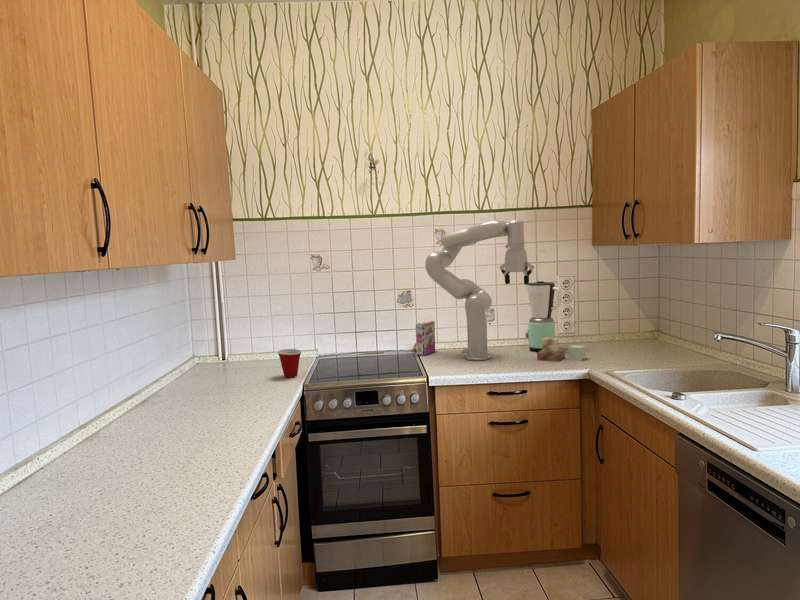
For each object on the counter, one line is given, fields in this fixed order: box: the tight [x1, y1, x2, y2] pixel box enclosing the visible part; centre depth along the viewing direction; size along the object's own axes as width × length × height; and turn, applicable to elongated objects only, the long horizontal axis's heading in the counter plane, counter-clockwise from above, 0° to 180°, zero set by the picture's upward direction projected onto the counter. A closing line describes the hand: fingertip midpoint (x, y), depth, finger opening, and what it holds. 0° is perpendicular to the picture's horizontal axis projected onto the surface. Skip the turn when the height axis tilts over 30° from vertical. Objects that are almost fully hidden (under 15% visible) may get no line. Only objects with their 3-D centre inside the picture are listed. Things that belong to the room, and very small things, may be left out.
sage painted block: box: [567, 344, 587, 362], centre depth 279 cm, size 6×6×6 cm
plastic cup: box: [277, 348, 303, 378], centre depth 269 cm, size 11×11×12 cm
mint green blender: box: [525, 280, 562, 352], centre depth 301 cm, size 19×13×35 cm
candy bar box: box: [415, 320, 436, 356], centre depth 307 cm, size 11×5×16 cm, turn 144°
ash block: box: [542, 337, 560, 353], centre depth 282 cm, size 6×6×6 cm
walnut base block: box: [536, 349, 566, 363], centre depth 282 cm, size 10×10×4 cm
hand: (516, 284), depth 277 cm, fingers open, 9 cm apart
